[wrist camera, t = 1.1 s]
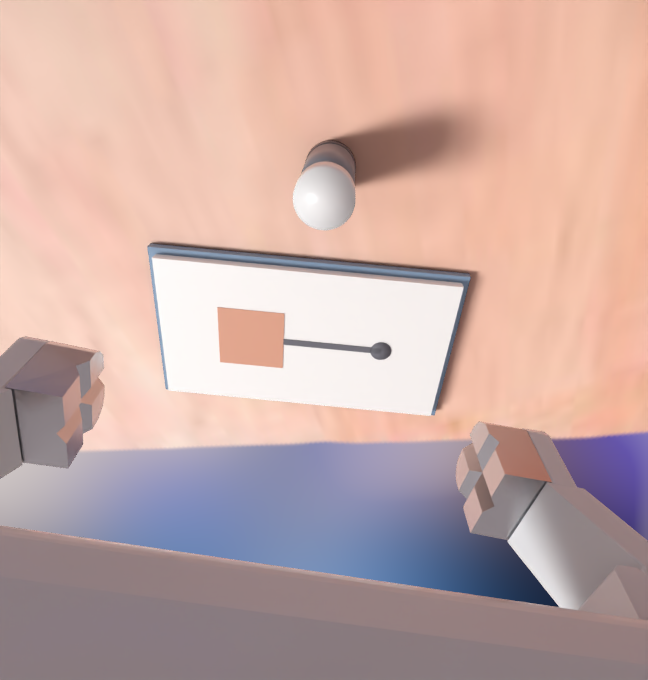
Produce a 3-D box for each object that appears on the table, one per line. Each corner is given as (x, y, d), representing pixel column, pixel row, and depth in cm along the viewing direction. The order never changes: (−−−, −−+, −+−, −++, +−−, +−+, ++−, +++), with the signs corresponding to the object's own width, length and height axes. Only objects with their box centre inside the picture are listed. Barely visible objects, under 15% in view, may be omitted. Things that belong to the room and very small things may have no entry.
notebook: (469, 273, 35) (472, 281, 34) (433, 410, 42) (435, 421, 41) (150, 243, 36) (143, 250, 34) (168, 384, 43) (163, 394, 42)
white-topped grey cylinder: (358, 142, 31) (358, 171, 25) (353, 194, 33) (351, 232, 27) (306, 137, 31) (294, 165, 25) (303, 190, 33) (291, 227, 27)
